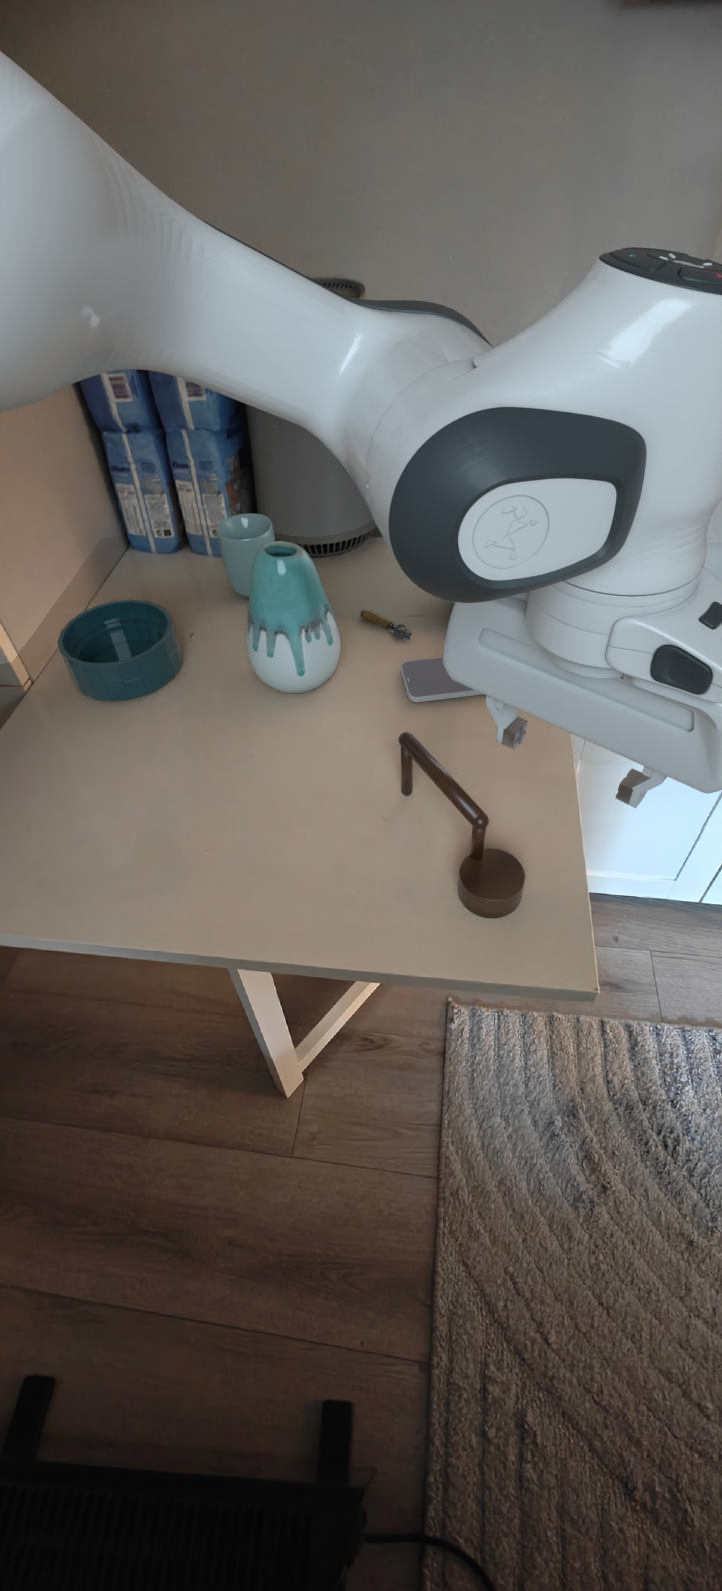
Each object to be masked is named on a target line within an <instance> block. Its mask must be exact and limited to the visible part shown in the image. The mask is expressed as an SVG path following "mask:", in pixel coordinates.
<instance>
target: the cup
mask: <svg viewBox="0 0 722 1591" xmlns="http://www.w3.org/2000/svg"><path fill="white" fill-rule="evenodd" d="M216 534H217V540H218V545H219V549H220V550H219V551H220V554H221V559H222V564H223V568H224V571H225V574H226V577H227V580H228V582H229V584H230V586H231V588H232V589H233V591H234V592H235V593H236V594H237V595H239V596H241V597H244V598H248V599H249V594H250V578H251V571H252V566H253V562H254V559H255V557H256V555H257V553H258V551H259V549H260V548H261V547H262V546H263V545H264V544H266V543H269V542H274V541H276V535H275V528H274V524H273V522H272V520H271V519H270V518H269V517H268V516H266V515H264V514H260V513H249V512H248V513H241V514H240V513H239V514H236V515H232V516H229V517H226V518H225V519H223V520H222V521H221V522H220V523H219V525H218V527H217V530H216Z"/></svg>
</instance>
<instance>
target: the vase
mask: <svg viewBox="0 0 722 1591" xmlns="http://www.w3.org/2000/svg"><path fill="white" fill-rule="evenodd" d="M328 599H329V598H328V597H327V594H326V593H325V590H324V587H323V585H322V582H321V579H320V576H319V573H318V570H317V567H316V565H315V563H314V561H313V559H312V557H311V555H310V554H309V553H308V552H307V550H306V549H304V547H302V546H301V545H299V544H297V543H294V542H291V541H290V542H289V541H285V540H275V541H274V542H269V543H266V544H264V545H263V546H262V547H261V548H260V549H259V551H258V553H257V555H256V557H255V559H254V562H253V566H252V571H251V578H250V594H249V598H248V605H247V614H246V616H247V617H246V628H245V630H246V632H245V647H246V649H245V650H246V655H247V659H248V662H249V665H250V668H252V671H253V672H254V674H255V675H256V677H257V678H258V679H259V680H260V681H261V682H262V683H263V684H265V685H266V686H268V687H269V688H270V689H273V690H275V691H278V692H281V693H285V694H303V693H307V692H311V691H313V690H316V689H318V688H320V687H321V686H322V685H324V684H325V683H326V682H328V680H330V678H331V677H332V676H333V675H334V672H335V671H336V669H337V668H338V664H339V662H340V658H341V652H342V642H341V636H340V635H341V634H340V631H339V627H338V623H337V620H336V616H335V614H334V611H333V609H332V606H331V604H330V601H329V600H328Z"/></svg>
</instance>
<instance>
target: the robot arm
mask: <svg viewBox="0 0 722 1591" xmlns="http://www.w3.org/2000/svg"><path fill="white" fill-rule="evenodd" d="M127 370H140V371H150V372H156V373H161V374H165V375H169V376H173V377H177V378H179V379H182V380H185V381H187V382H190V383H191V384H192V383H193V384H195V385H197V386H200V387H202V388H204V389H207V390H210V391H213V392H215V393H217V394H220V395H222V396H225V397H227V398H231V399H233V400H235V401H237V402H240V403H243V404H245V405H247V406H250V407H253V408H255V409H258V410H259V411H263V412H265V413H267V414H270V415H273V416H275V417H278V418H280V419H283V420H285V421H287V422H290V423H293V424H295V425H297V426H299V427H301V428H302V429H304V430H306V431H307V432H309V434H312V435H313V436H314V437H315V438H316V439H318V441H320V442H321V443H322V444H323V445H324V446H325V447H326V448H327V450H329V451H330V453H331V454H332V455H333V456H334V458H335V459H336V460H337V462H338V463H339V464H340V466H341V467H342V468H343V470H344V471H345V472H346V473H347V475H348V476H349V477H350V478H351V480H352V481H353V483H354V484H355V486H356V488H357V490H358V492H359V493H360V495H361V497H362V499H363V501H364V503H365V504H366V506H367V508H368V509H369V512H370V514H371V518H372V519H373V521H374V523H375V525H376V527H377V529H378V531H379V532H380V534H381V537H382V538H383V540H384V542H385V543H386V545H387V547H388V548H389V550H390V552H391V553H392V555H393V557H394V558H395V560H396V562H397V563H398V566H399V567H400V569H401V571H402V572H403V573H404V575H405V576H406V577H407V578H408V579H409V580H410V581H411V582H412V583H413V584H414V585H416V586H417V587H418V588H419V589H421V590H422V591H424V592H426V593H427V594H430V595H431V596H433V597H435V598H438V599H441V600H444V601H448V602H452V603H453V604H454V605H453V607H452V610H451V612H450V616H449V620H448V624H447V629H446V633H445V639H444V646H443V653H442V657H443V665H444V667H445V669H446V671H447V673H448V675H449V676H450V678H451V679H452V680H454V681H456V682H458V683H460V684H463V685H465V686H467V687H469V688H472V689H474V690H476V691H478V692H481V693H483V694H482V695H485V696H486V697H485V705H486V707H487V709H488V712H489V713H490V716H491V717H492V719H493V722H494V724H495V726H497V730H496V739H495V742H496V743H499V744H501V745H503V746H505V747H508V748H509V749H512V750H516V749H517V748H518V745H520V744H522V742H523V741H524V740H525V739H526V735H527V730H526V729H527V728H528V723H529V721H528V720H527V719H525V718H523V717H521V716H519V713H518V711H521V712H524V713H525V714H527V715H529V716H532V717H534V718H536V719H538V720H541V721H543V722H544V723H545V722H546V723H547V724H548V725H549V724H550V725H551V726H554V727H556V728H559V729H560V730H563V731H565V732H567V733H569V734H572V735H574V736H576V737H579V738H581V739H582V740H585V741H587V742H589V743H591V744H594V745H597V746H599V747H601V748H603V749H605V750H607V751H609V752H611V753H614V754H617V755H619V756H621V757H623V758H625V759H627V760H629V761H632V762H634V763H637V764H638V765H640V766H643V768H642V770H641V771H642V772H641V771H640V770H637V769H635V768H630V770H629V771H628V772H627V774H626V776H625V777H623V779H622V780H621V781H620V783H619V785H618V788H617V793H616V794H615V799H616V800H618V801H620V802H621V803H624V804H626V805H627V806H630V807H632V808H634V809H636V808H637V807H638V806H639V805H640V804H641V802H642V801H643V799H644V798H645V796H646V795H647V793H648V791H650V790H652V789H654V788H656V787H658V786H661V785H663V783H664V782H665V780H666V779H667V778H670V779H672V780H674V781H676V782H679V783H681V784H683V785H685V786H688V787H690V788H692V789H694V790H696V791H698V792H701V793H703V794H713V793H716V792H719V791H722V580H721V579H719V578H718V577H717V576H716V575H714V573H712V572H711V571H710V570H708V569H707V568H706V567H705V562H706V559H707V550H708V548H707V547H708V540H707V538H708V537H707V535H708V527H709V525H710V521H711V518H712V517H713V515H714V512H715V510H716V509H717V507H718V505H719V504H720V503H721V502H722V263H719V262H716V261H714V260H711V259H708V258H707V259H703V258H701V257H700V258H699V257H695V256H691V255H689V254H688V253H684V252H679V251H674V250H668V249H662V248H654V247H653V248H652V247H639V246H638V247H636V246H634V247H623V248H621V249H614V250H612V251H608V252H605V253H602V254H601V255H599V256H598V257H597V258H596V259H595V260H594V261H593V262H592V264H591V266H590V267H589V269H588V270H587V272H586V273H585V275H584V276H583V278H582V279H581V281H580V282H579V283H577V285H576V286H575V287H574V288H573V289H572V290H571V291H570V292H569V293H568V294H567V295H565V296H564V297H563V298H562V299H561V300H560V301H558V303H556V305H554V306H553V307H552V308H551V309H550V310H549V311H548V312H546V313H545V314H544V315H543V316H541V317H539V318H538V319H537V320H536V321H535V322H533V323H532V324H530V325H529V326H527V327H526V328H524V329H523V330H522V331H520V332H519V333H517V334H515V335H514V336H512V337H511V338H509V339H508V340H506V341H504V342H502V343H500V344H499V345H497V346H495V347H494V346H493V345H492V344H491V343H490V342H489V340H488V339H487V338H486V337H485V335H484V334H483V333H482V332H481V331H480V329H479V328H478V327H477V326H476V325H475V324H474V323H473V322H472V321H471V320H470V319H468V318H467V317H466V316H465V315H463V314H462V313H460V312H459V311H457V310H455V309H453V308H451V307H449V306H446V305H444V304H440V303H436V302H431V301H425V300H411V299H389V300H388V299H387V300H386V299H384V300H383V299H366V298H365V299H364V298H359V297H352V296H348V295H345V294H342V293H340V292H338V291H336V290H334V289H331V287H330V288H329V287H328V286H325V285H323V284H322V283H320V282H318V281H316V280H314V279H312V278H310V277H308V276H307V275H305V274H303V273H302V272H299V271H297V270H296V269H294V268H292V267H291V266H288V265H286V264H285V263H282V262H281V261H279V260H277V259H275V258H273V257H272V256H270V255H268V254H266V253H265V252H263V251H261V250H258V249H257V248H255V247H253V246H251V245H250V244H247V243H246V242H244V241H242V240H240V239H239V238H236V237H234V236H233V235H231V234H229V233H227V232H226V231H224V230H221V229H220V228H218V227H216V226H214V225H212V224H211V223H209V222H207V221H205V220H203V219H202V218H200V217H198V216H197V215H194V214H193V213H191V212H190V211H189V210H187V209H186V208H184V207H183V206H181V205H180V204H179V203H177V202H176V201H175V200H174V199H172V198H171V197H170V196H168V195H167V194H166V193H165V192H163V191H162V190H161V189H159V188H158V187H157V186H156V185H155V184H154V183H152V182H151V181H150V180H149V179H148V178H146V177H145V175H143V174H141V173H140V171H138V170H137V168H135V167H134V166H133V165H131V164H130V162H128V161H127V160H126V159H125V158H124V157H123V156H121V154H119V153H118V152H117V151H116V150H115V149H114V148H113V147H112V146H111V145H109V144H108V142H106V140H104V139H103V138H102V137H101V136H100V135H99V134H97V133H96V132H95V131H94V130H93V129H92V128H91V127H90V126H88V125H87V124H86V123H85V122H84V121H83V120H82V119H81V118H79V116H77V115H76V114H75V113H74V112H73V111H72V110H70V109H69V108H68V107H67V106H66V105H65V104H64V103H62V101H60V100H59V99H58V98H57V97H56V96H54V95H53V94H52V93H51V92H50V91H49V90H48V89H47V88H45V87H44V86H43V85H42V84H41V83H39V82H38V81H37V80H36V79H35V78H33V77H32V76H31V75H30V74H29V73H28V72H27V71H26V70H24V69H23V68H22V67H21V66H20V65H18V64H17V63H16V62H15V61H14V60H12V59H11V58H10V57H8V56H7V55H6V54H5V53H4V52H2V51H1V50H0V413H5V412H9V411H13V410H17V409H21V408H24V407H27V406H31V405H34V404H36V403H39V402H41V401H43V400H45V399H47V398H50V397H51V396H53V395H55V394H56V393H58V392H59V391H61V390H63V389H65V388H67V387H69V386H71V385H73V384H76V383H78V382H80V381H83V380H86V379H89V378H92V377H95V376H98V375H102V374H106V373H111V372H115V371H127Z"/></svg>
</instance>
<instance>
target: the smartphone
mask: <svg viewBox="0 0 722 1591" xmlns="http://www.w3.org/2000/svg"><path fill="white" fill-rule="evenodd" d="M400 674H401V677H402V681H403V684H404V688H405V692H406V694H407V697H408V699H409V700H410V701H411V702H413V703H423V702H432V701H440V700H447V699H448V700H449V699H456V698H464V697H472V696H473V697H474V696H481V695H484V694H483V693H481V692H478V691H476V690H474V689H472V688H469V687H467V686H465V685H463V684H460V683H458V682H456V681H454V680H452V679H451V678H450V676H449V675H448V673H447V671H446V669H445V667H444V665H443V656H438V657H430V658H421V659H413V660H406V661H403V662H402V663H401V664H400Z"/></svg>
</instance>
